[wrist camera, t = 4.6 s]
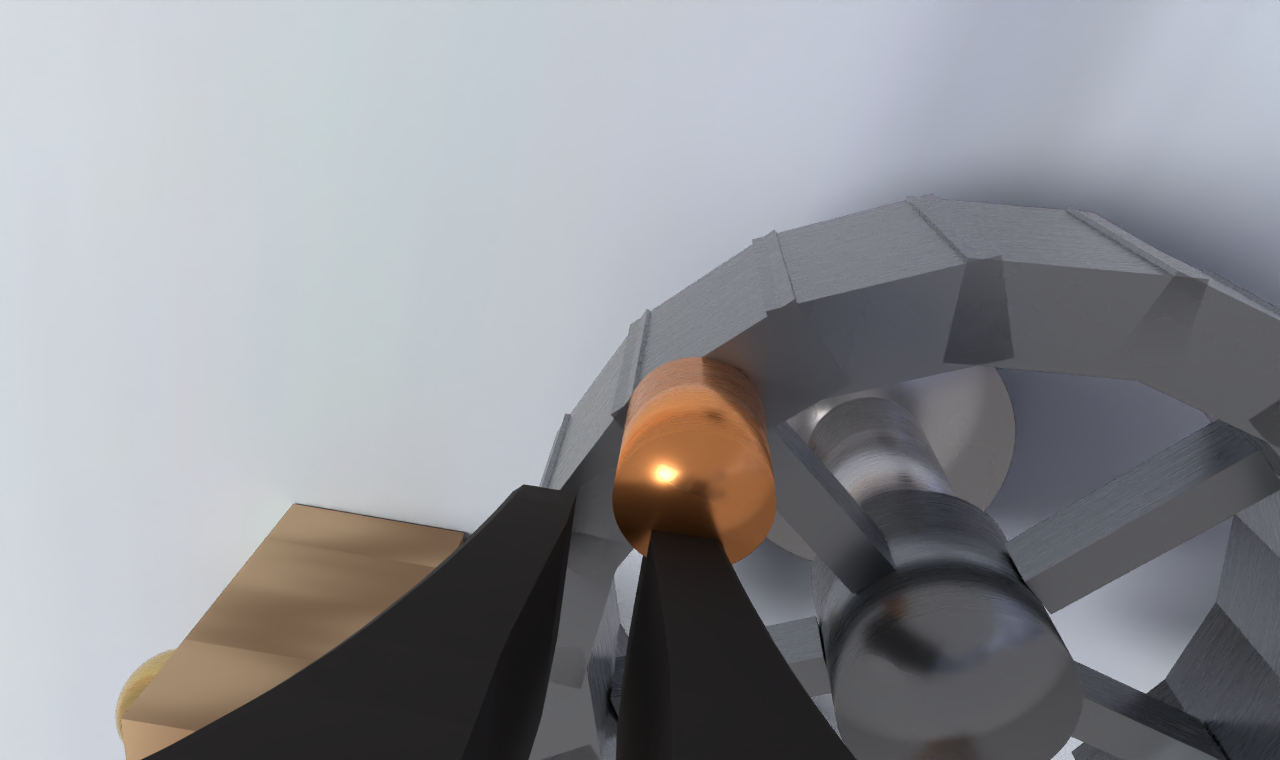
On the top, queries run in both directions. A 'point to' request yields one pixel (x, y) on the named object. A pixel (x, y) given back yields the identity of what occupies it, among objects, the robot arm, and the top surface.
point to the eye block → (283, 616)
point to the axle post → (911, 441)
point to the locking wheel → (930, 521)
